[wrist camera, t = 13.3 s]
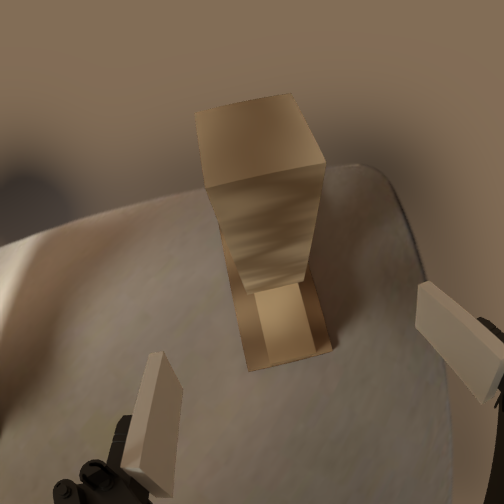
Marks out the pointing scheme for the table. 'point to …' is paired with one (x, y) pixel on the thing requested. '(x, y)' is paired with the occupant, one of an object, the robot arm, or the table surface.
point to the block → (263, 186)
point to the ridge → (278, 320)
